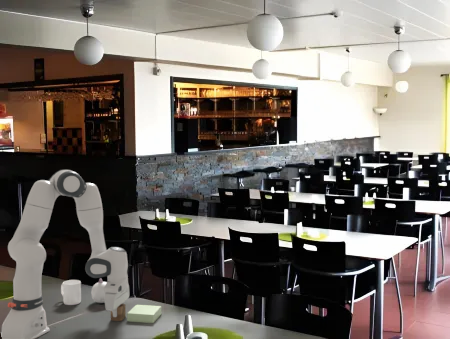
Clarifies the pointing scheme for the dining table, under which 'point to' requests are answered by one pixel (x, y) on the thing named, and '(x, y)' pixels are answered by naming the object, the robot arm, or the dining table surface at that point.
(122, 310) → the walnut block
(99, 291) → the ornament
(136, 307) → the base box
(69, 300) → the cup
